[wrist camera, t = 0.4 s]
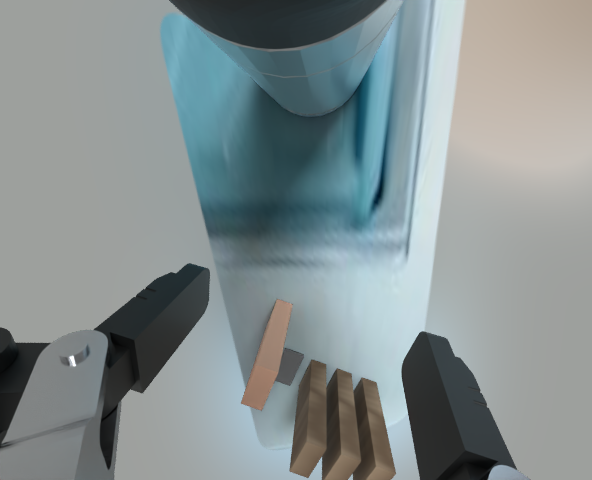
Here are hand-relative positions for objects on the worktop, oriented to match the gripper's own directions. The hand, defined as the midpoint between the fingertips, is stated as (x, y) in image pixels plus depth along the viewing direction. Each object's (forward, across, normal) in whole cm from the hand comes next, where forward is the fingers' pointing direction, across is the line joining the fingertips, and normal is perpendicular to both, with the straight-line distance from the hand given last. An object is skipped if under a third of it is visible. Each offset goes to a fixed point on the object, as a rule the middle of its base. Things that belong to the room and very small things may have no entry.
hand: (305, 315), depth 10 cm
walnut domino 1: (+16, -3, +24) cm, 29 cm away
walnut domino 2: (+16, -7, +25) cm, 30 cm away
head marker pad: (+15, 0, +24) cm, 28 cm away
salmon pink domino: (+16, +3, +16) cm, 23 cm away
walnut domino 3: (+16, -10, +25) cm, 32 cm away
